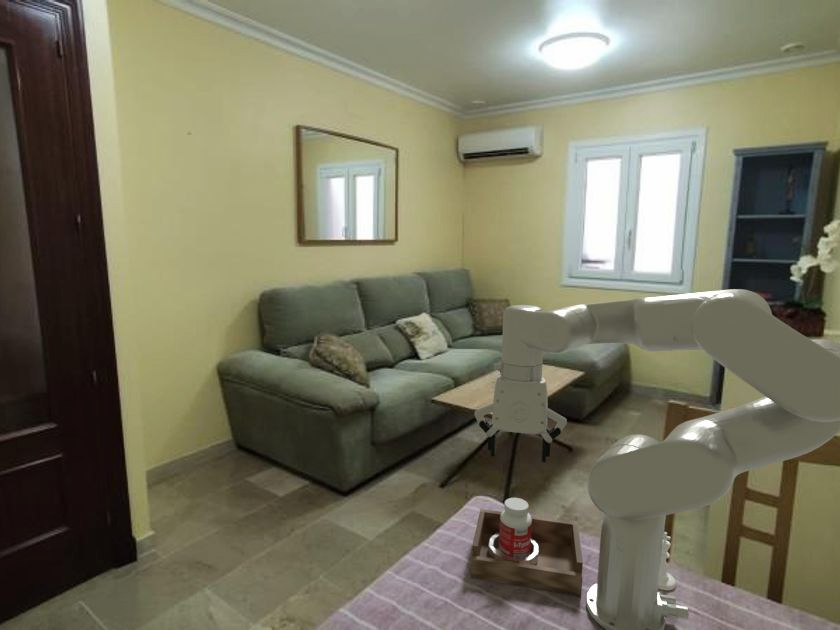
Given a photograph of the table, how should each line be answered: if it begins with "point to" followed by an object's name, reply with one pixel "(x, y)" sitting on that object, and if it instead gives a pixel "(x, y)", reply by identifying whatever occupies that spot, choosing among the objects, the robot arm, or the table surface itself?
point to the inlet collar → (528, 560)
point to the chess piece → (665, 578)
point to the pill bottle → (515, 529)
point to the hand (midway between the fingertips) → (518, 456)
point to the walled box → (555, 554)
